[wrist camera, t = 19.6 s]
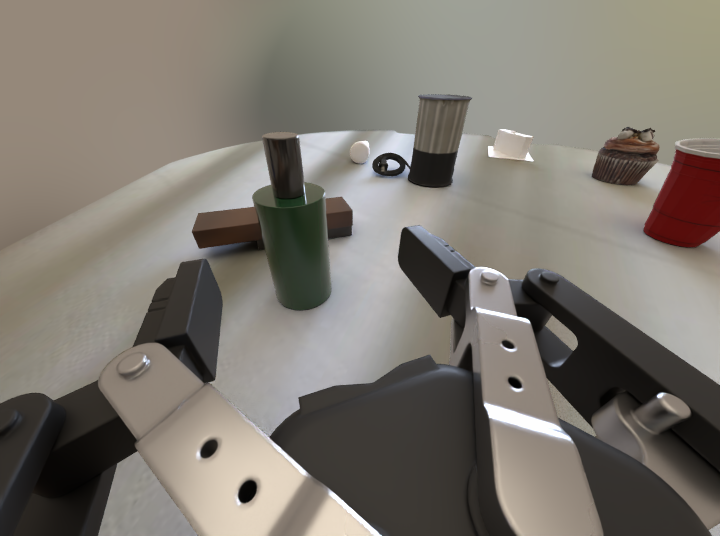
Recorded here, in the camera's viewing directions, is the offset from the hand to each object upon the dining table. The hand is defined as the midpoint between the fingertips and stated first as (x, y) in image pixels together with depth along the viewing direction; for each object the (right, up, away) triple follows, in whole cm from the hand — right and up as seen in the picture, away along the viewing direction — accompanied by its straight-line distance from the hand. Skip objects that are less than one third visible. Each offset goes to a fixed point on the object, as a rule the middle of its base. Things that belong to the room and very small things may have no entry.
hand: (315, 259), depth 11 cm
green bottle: (-4, -3, +15) cm, 15 cm away
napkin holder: (+46, +33, +64) cm, 86 cm away
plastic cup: (+45, +4, +25) cm, 52 cm away
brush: (-8, +4, +23) cm, 24 cm away
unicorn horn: (+2, +32, +61) cm, 69 cm away
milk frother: (+13, +19, +44) cm, 50 cm away
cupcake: (+58, +19, +46) cm, 76 cm away
